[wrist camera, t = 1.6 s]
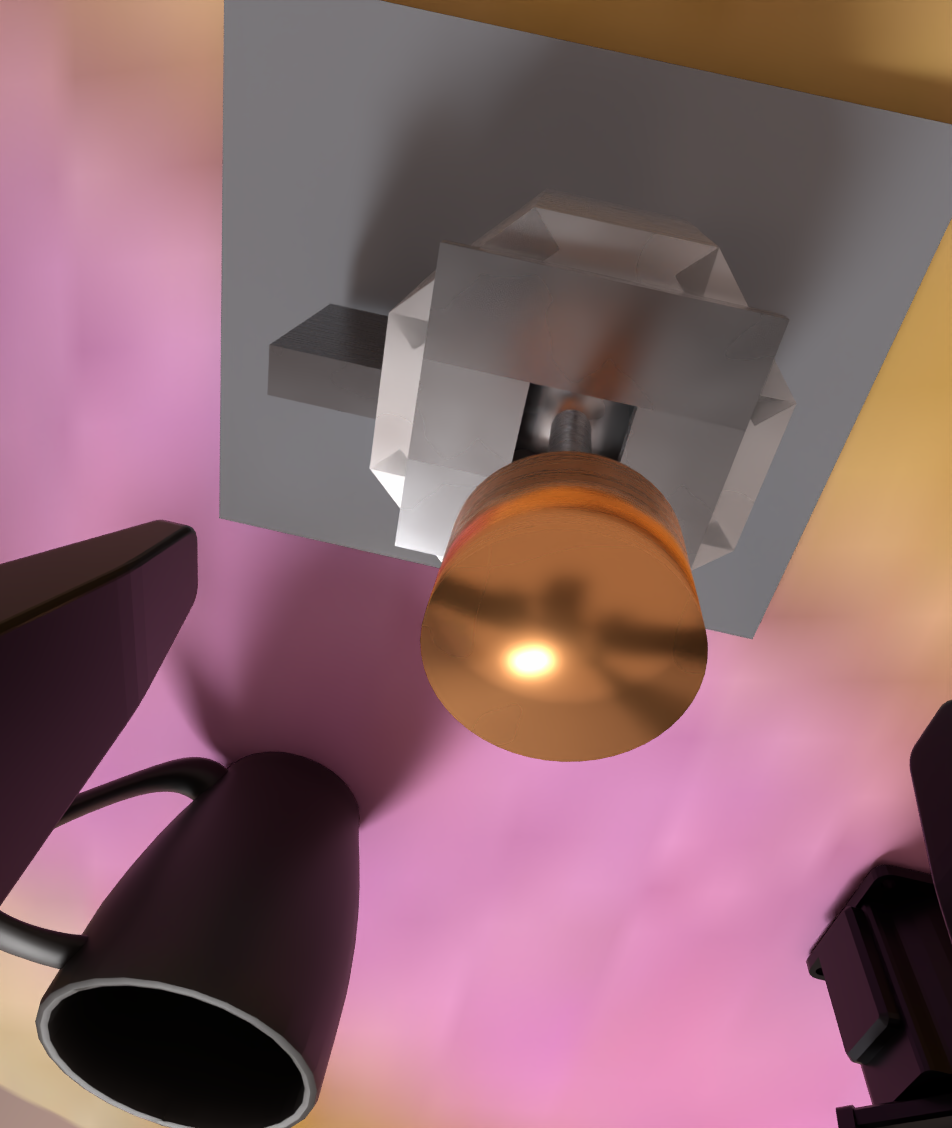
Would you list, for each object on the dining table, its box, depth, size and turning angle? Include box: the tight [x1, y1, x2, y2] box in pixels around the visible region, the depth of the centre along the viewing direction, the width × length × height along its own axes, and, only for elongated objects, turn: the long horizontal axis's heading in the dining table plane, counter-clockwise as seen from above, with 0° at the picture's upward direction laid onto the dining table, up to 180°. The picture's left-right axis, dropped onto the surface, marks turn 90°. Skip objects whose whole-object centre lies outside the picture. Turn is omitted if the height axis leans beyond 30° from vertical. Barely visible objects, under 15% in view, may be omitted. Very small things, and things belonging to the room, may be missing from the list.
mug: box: [0, 752, 360, 1128], centre depth 24 cm, size 8×12×10 cm
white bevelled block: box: [267, 189, 796, 571], centre depth 16 cm, size 10×8×5 cm
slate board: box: [219, 0, 952, 639], centre depth 19 cm, size 16×13×1 cm
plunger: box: [420, 383, 708, 762], centre depth 12 cm, size 5×5×8 cm
